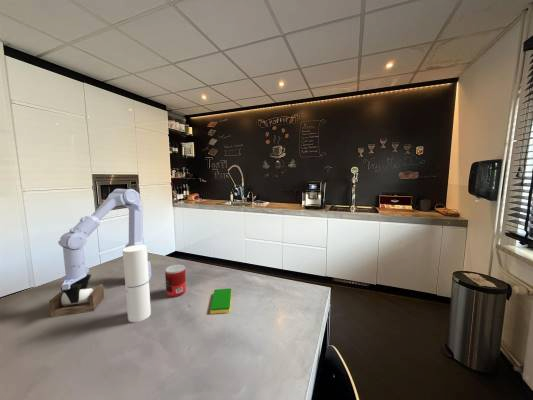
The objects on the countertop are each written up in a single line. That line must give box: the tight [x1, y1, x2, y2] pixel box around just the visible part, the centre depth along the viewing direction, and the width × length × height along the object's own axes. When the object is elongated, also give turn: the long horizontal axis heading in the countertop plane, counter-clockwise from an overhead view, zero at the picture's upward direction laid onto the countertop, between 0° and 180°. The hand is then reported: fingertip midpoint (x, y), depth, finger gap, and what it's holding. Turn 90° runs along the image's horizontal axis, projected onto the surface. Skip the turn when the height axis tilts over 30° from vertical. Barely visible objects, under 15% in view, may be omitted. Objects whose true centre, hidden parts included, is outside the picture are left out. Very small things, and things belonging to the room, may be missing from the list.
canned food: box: [164, 264, 187, 298], centre depth 94 cm, size 8×8×11 cm
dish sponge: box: [209, 288, 232, 315], centre depth 87 cm, size 7×14×2 cm, turn 7°
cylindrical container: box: [122, 244, 152, 323], centre depth 78 cm, size 7×7×25 cm
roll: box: [61, 287, 94, 306], centre depth 84 cm, size 8×5×5 cm, turn 106°
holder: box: [48, 283, 105, 318], centre depth 84 cm, size 13×9×6 cm
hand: (78, 298), depth 84 cm, fingers closed on roll, 5 cm apart
